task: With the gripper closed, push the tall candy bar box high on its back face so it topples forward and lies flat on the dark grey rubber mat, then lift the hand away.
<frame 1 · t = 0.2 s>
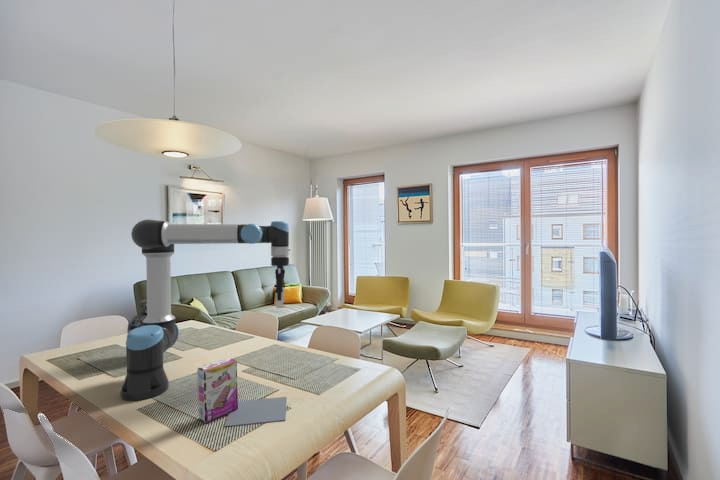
hand: (280, 305, 150), 28 cm above the table, tool pointing down, fingers open, 13 cm apart
decorative vase: (150, 357, 167), on the table
candy bar box: (219, 414, 110), on the table, touching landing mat
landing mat: (258, 411, 113), on the table
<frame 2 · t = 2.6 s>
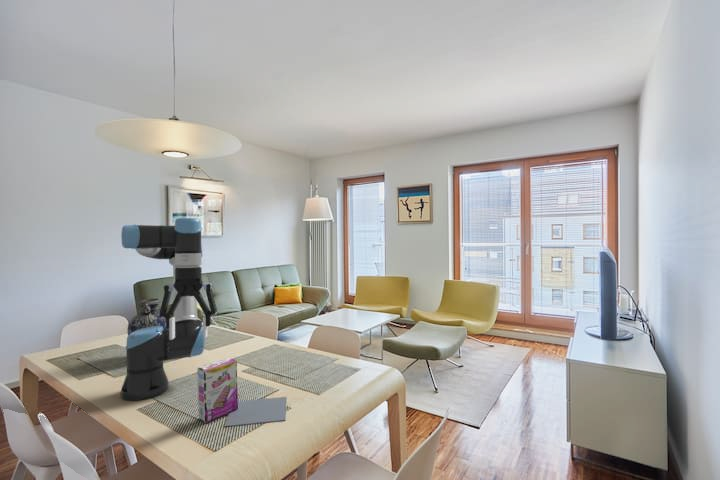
hand: (188, 337, 109), 25 cm above the table, tool pointing down, fingers open, 9 cm apart
nothing on the table moved.
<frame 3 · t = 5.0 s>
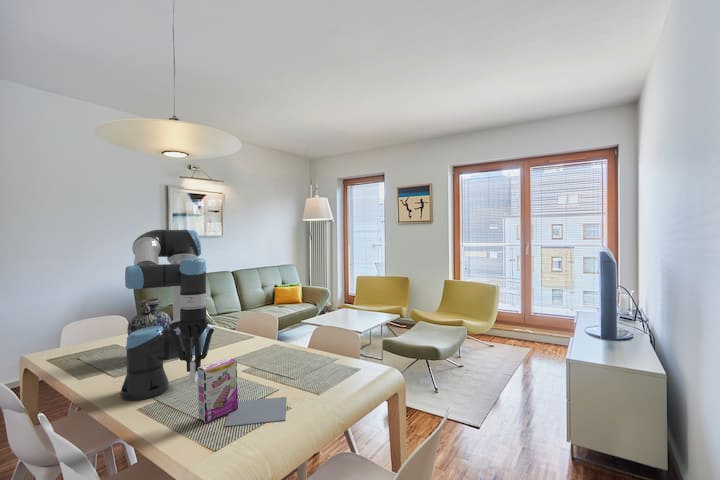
hand: (193, 381, 109), 12 cm above the table, tool pointing down, fingers closed
candy bar box: (219, 414, 110), on the table, touching gripper, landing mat
everything else where it was.
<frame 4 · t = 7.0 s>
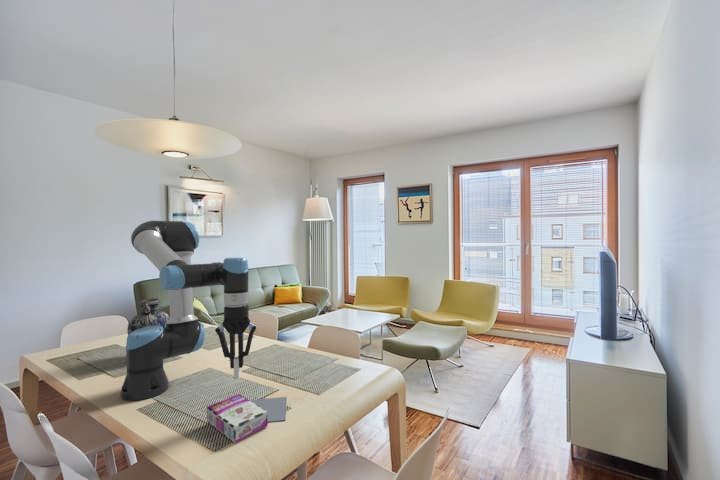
hand: (237, 377, 111), 12 cm above the table, tool pointing down, fingers closed
candy bar box: (223, 407, 109), point 3 cm above the table, touching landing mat
everything else where it was.
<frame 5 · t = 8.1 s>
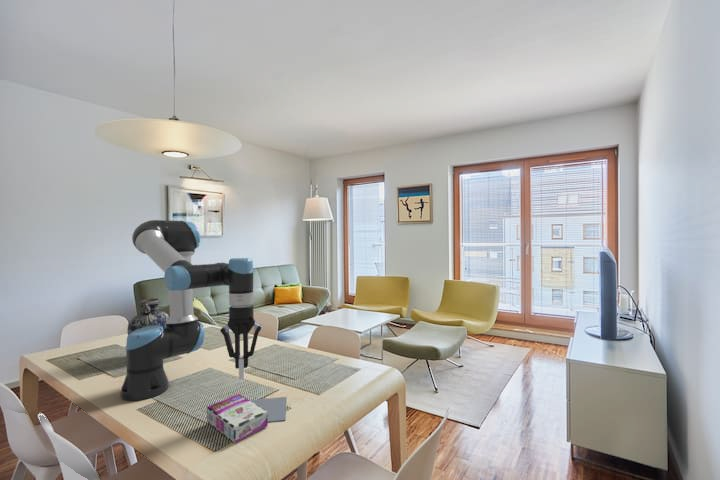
hand: (241, 377, 112), 11 cm above the table, tool pointing down, fingers closed
candy bar box: (223, 407, 109), point 3 cm above the table, touching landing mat
everything else where it was.
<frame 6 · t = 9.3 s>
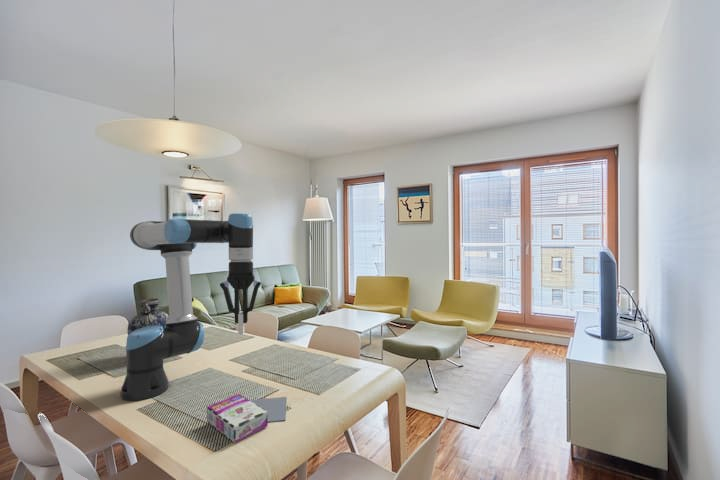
hand: (241, 333, 112), 26 cm above the table, tool pointing down, fingers closed
nothing on the table moved.
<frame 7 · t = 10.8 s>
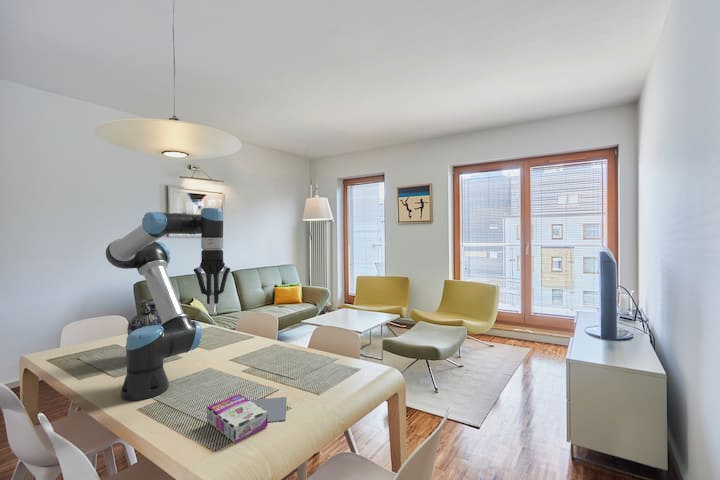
hand: (212, 312, 128), 29 cm above the table, tool pointing down, fingers closed
nothing on the table moved.
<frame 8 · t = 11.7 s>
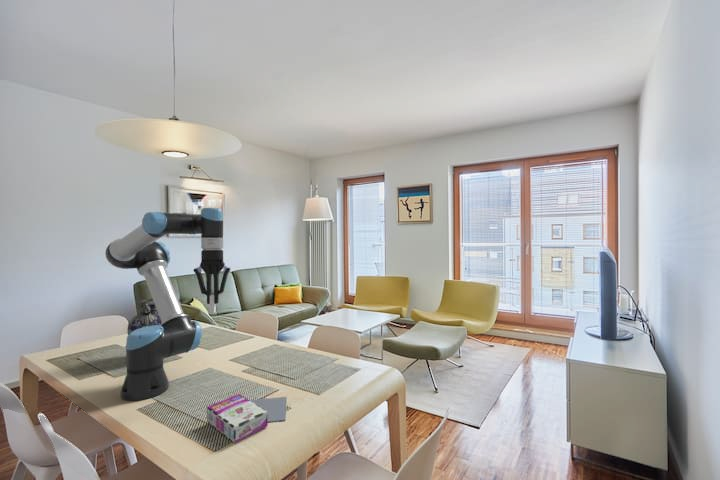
hand: (212, 312, 128), 29 cm above the table, tool pointing down, fingers closed
nothing on the table moved.
at the end: candy bar box tilted 92°; candy bar box inside the target area (9.6 cm from its centre), point 3.0 cm above the table; the gripper is holding nothing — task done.
